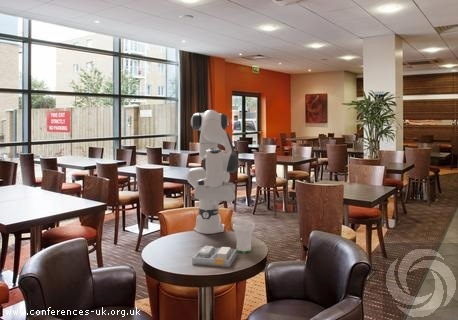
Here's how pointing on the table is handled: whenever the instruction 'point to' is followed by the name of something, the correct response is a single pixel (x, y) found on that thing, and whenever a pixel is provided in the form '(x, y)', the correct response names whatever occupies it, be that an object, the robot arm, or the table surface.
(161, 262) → the table surface
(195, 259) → the tray
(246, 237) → the cup
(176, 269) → the table surface
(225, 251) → the white rectangular block
